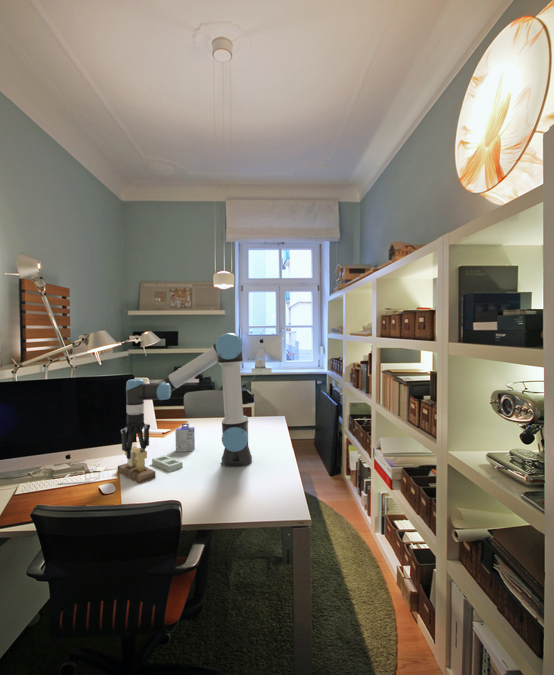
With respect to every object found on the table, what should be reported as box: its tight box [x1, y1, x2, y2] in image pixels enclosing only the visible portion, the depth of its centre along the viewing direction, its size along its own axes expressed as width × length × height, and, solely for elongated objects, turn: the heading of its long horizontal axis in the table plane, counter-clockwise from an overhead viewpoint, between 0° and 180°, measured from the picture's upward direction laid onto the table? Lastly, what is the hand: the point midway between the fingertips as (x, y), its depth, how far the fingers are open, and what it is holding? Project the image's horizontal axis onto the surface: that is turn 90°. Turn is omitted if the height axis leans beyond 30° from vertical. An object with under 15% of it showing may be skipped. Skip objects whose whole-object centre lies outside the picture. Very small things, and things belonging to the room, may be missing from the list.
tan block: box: [124, 446, 148, 473], centre depth 170 cm, size 12×4×10 cm, turn 48°
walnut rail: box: [117, 463, 156, 484], centre depth 170 cm, size 20×8×3 cm, turn 48°
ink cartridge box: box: [174, 423, 196, 453], centre depth 206 cm, size 10×6×14 cm, turn 95°
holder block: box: [151, 455, 183, 472], centre depth 181 cm, size 16×7×2 cm, turn 48°
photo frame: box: [57, 466, 108, 485], centre depth 170 cm, size 15×1×18 cm
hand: (136, 463), depth 169 cm, fingers closed on tan block, 4 cm apart
